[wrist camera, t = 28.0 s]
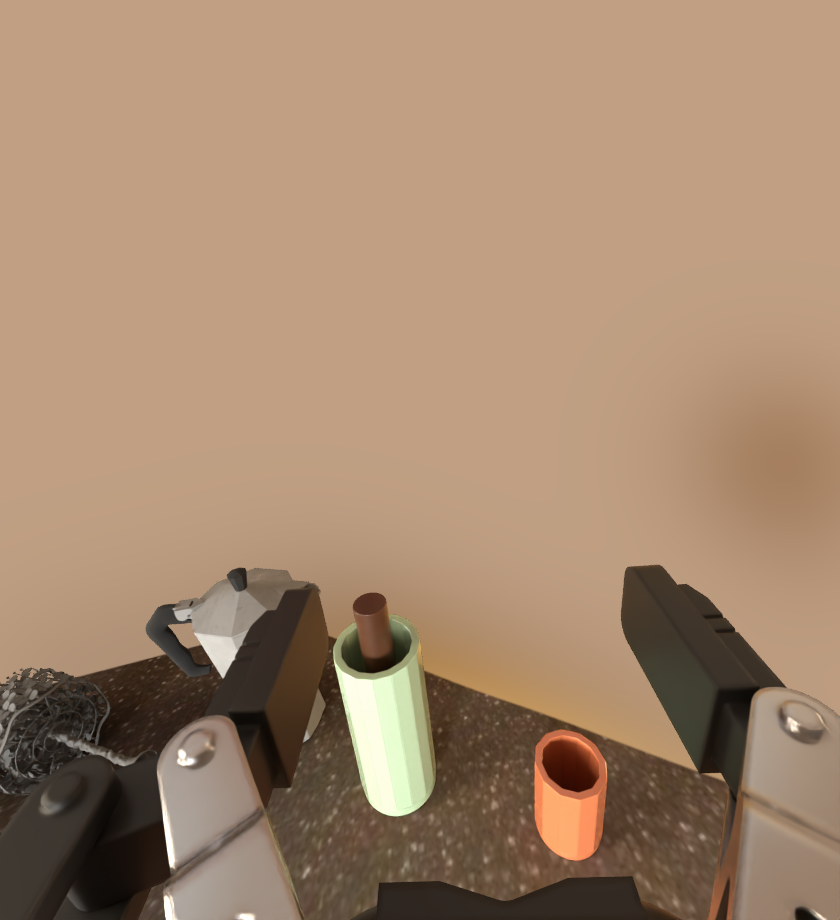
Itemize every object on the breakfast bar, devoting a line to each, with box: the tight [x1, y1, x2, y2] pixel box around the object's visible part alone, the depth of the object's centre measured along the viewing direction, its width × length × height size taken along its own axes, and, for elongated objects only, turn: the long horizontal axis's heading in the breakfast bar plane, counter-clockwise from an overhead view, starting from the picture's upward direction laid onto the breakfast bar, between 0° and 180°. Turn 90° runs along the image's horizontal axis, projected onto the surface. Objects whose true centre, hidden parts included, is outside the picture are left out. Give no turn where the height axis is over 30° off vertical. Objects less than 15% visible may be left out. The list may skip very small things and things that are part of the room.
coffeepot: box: [146, 568, 326, 743], centre depth 41 cm, size 15×9×18 cm, turn 99°
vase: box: [333, 614, 436, 816], centre depth 35 cm, size 6×6×15 cm
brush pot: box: [535, 729, 607, 860], centre depth 32 cm, size 5×5×7 cm
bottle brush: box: [353, 593, 396, 674], centre depth 34 cm, size 3×3×18 cm
